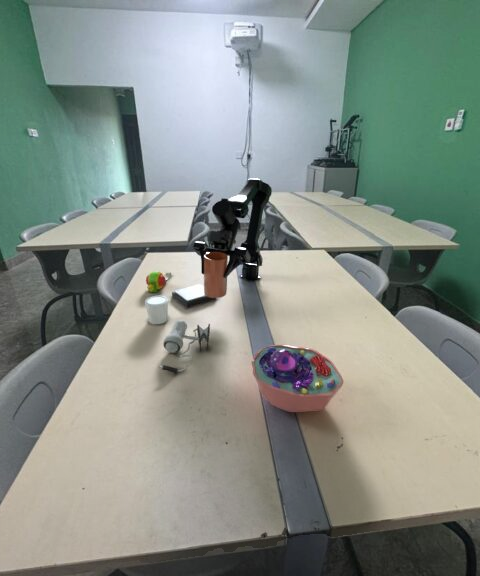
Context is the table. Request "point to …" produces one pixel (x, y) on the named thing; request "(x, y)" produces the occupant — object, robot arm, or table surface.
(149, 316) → the white cylinder
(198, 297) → the scale
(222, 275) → the cup
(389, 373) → the table surface
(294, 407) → the cell model
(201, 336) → the clip-on lamp
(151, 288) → the toy measuring tape
